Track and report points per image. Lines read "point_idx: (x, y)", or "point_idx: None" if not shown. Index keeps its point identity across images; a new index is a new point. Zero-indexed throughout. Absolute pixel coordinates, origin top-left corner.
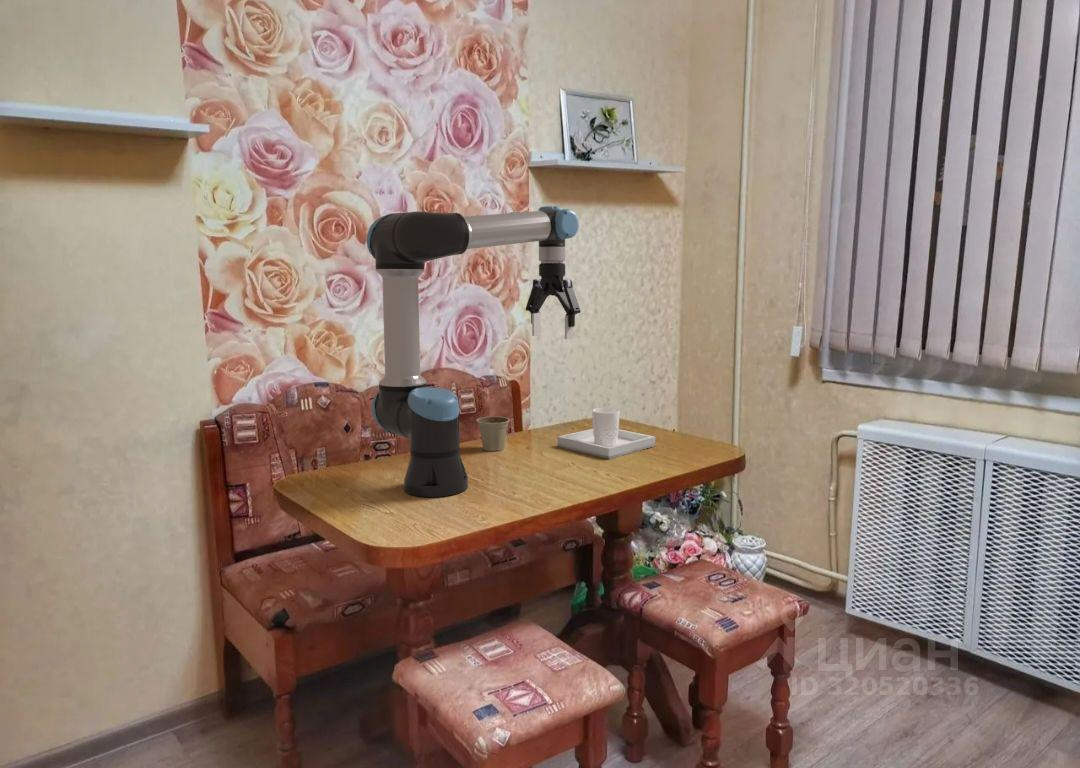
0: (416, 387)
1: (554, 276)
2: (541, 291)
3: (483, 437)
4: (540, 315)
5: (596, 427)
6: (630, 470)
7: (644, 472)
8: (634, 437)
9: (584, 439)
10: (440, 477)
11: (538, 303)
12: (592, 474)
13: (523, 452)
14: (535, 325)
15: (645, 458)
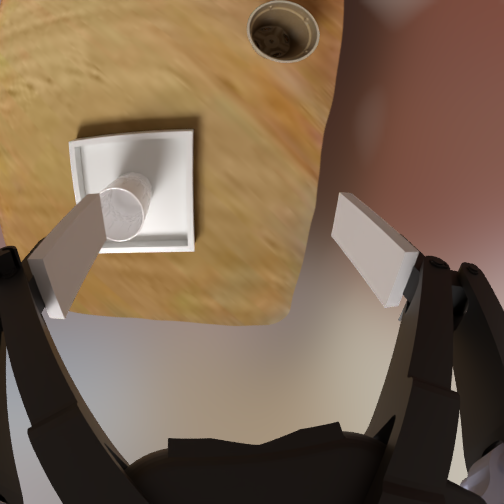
0: None
1: None
2: (425, 434)
3: (278, 16)
4: (377, 297)
5: (123, 178)
6: (24, 126)
7: (11, 135)
8: (121, 244)
9: (183, 188)
10: None
11: (413, 322)
12: (42, 68)
13: (209, 58)
14: (361, 226)
15: (52, 186)
